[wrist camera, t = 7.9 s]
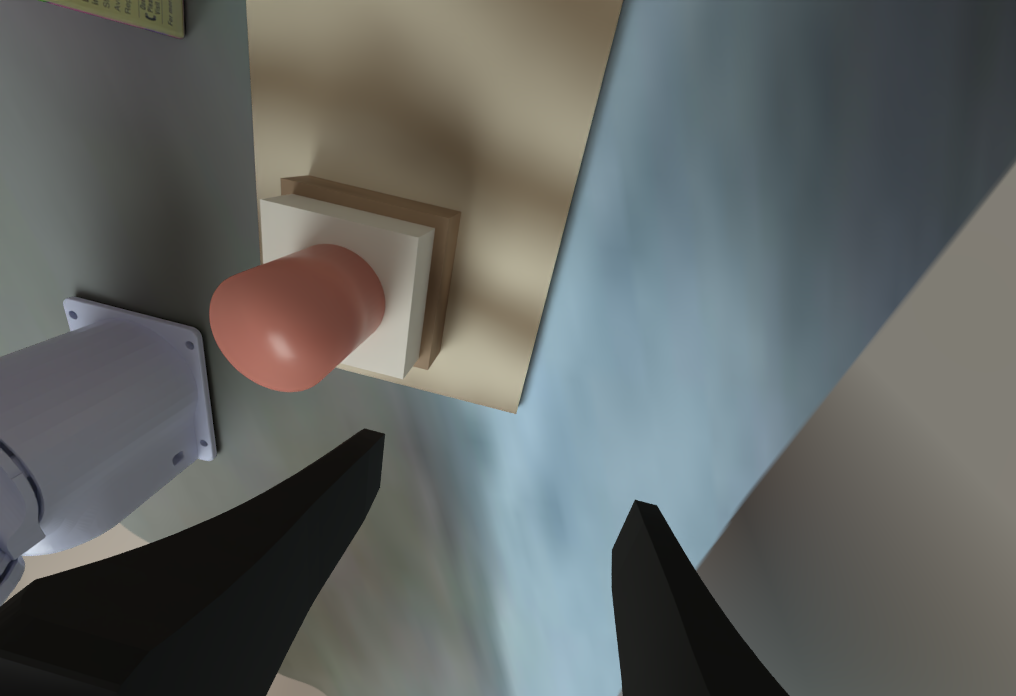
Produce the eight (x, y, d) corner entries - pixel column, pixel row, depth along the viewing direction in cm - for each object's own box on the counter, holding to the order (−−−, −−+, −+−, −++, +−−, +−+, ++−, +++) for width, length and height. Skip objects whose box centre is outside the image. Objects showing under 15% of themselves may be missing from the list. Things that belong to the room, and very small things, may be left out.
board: (517, 407, 23) (516, 414, 23) (272, 344, 24) (265, 349, 23) (689, -257, 13) (694, -274, 12) (240, -340, 13) (226, -361, 13)
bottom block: (440, 351, 22) (427, 370, 20) (308, 318, 22) (285, 333, 20) (461, 211, 19) (448, 218, 17) (308, 175, 19) (280, 178, 17)
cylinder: (380, 352, 18) (330, 405, 14) (288, 327, 18) (215, 373, 14) (390, 259, 16) (335, 291, 12) (287, 232, 16) (203, 256, 12)
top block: (418, 358, 20) (402, 379, 18) (295, 326, 20) (267, 344, 18) (435, 228, 17) (418, 237, 15) (292, 193, 17) (259, 199, 16)
